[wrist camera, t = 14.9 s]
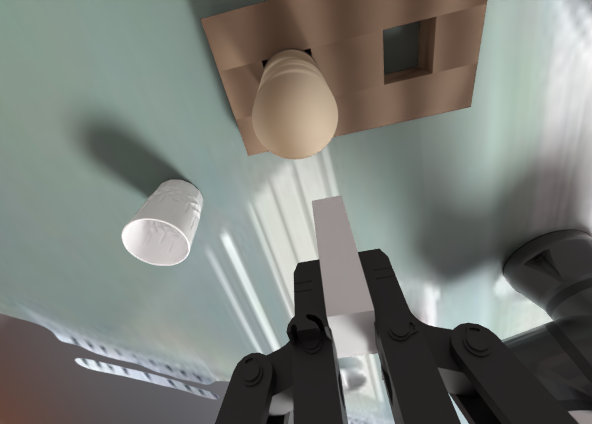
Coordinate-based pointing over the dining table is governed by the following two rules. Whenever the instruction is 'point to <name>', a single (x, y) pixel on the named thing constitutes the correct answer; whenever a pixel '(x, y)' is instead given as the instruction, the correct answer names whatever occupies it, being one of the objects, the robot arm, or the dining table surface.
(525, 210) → the dining table surface
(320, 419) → the robot arm
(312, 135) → the beech peg
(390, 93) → the walnut board
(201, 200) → the white cup
